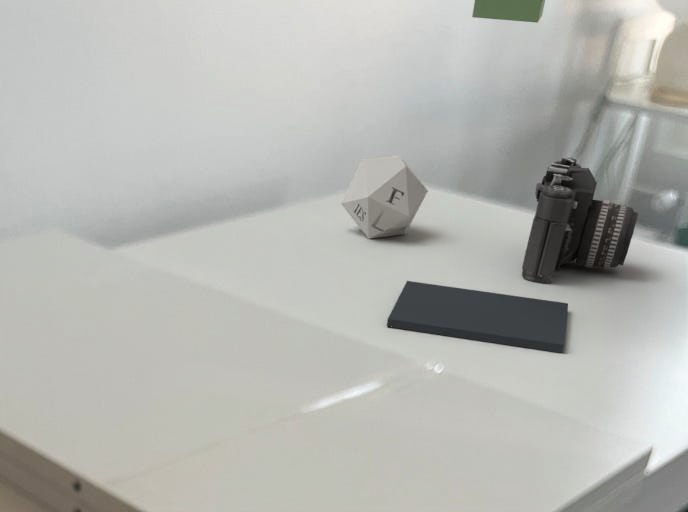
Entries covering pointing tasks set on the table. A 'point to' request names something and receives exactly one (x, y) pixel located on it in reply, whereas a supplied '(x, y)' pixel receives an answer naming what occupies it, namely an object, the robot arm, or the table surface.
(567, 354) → the table surface
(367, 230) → the die
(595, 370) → the table surface
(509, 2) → the green block
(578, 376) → the table surface
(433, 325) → the mat
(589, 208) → the camera
